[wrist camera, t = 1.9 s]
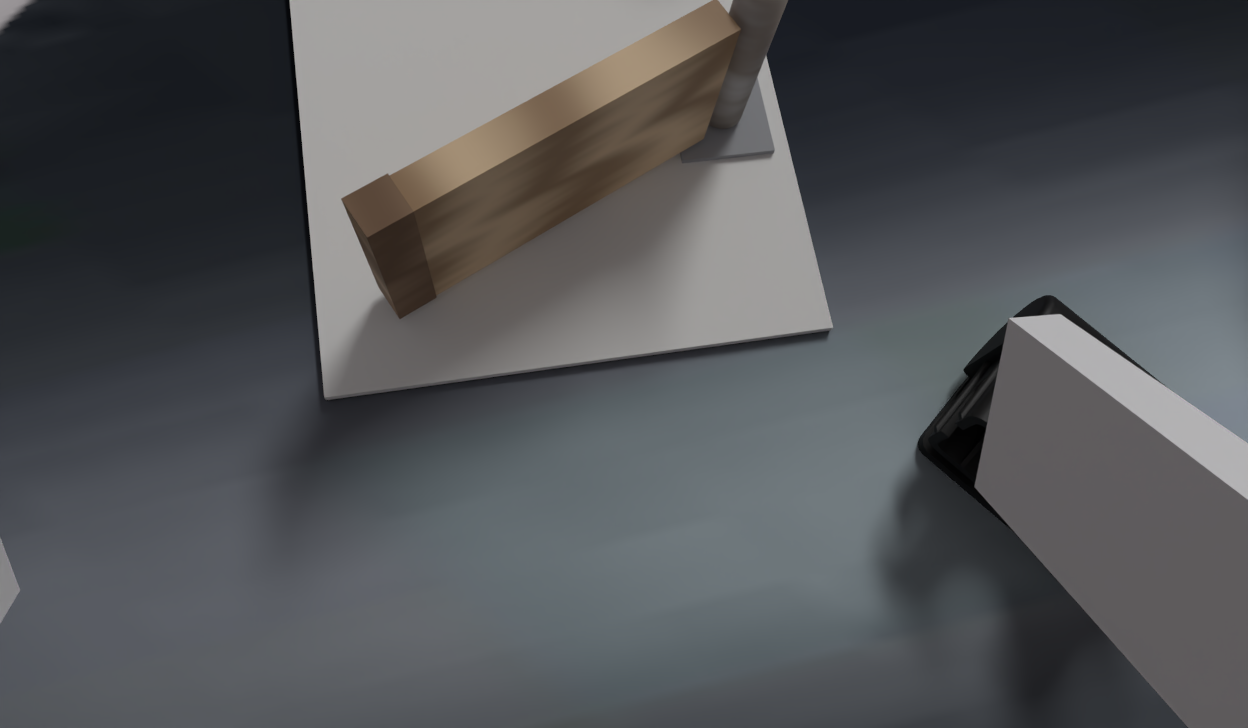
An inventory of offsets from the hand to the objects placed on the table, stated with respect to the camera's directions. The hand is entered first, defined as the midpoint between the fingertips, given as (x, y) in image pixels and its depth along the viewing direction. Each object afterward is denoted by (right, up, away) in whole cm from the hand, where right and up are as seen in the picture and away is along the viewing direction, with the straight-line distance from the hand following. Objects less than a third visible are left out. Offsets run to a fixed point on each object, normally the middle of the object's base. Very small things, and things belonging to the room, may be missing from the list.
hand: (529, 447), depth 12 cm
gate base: (-2, +12, +31) cm, 33 cm away
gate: (-1, +9, +29) cm, 31 cm away
